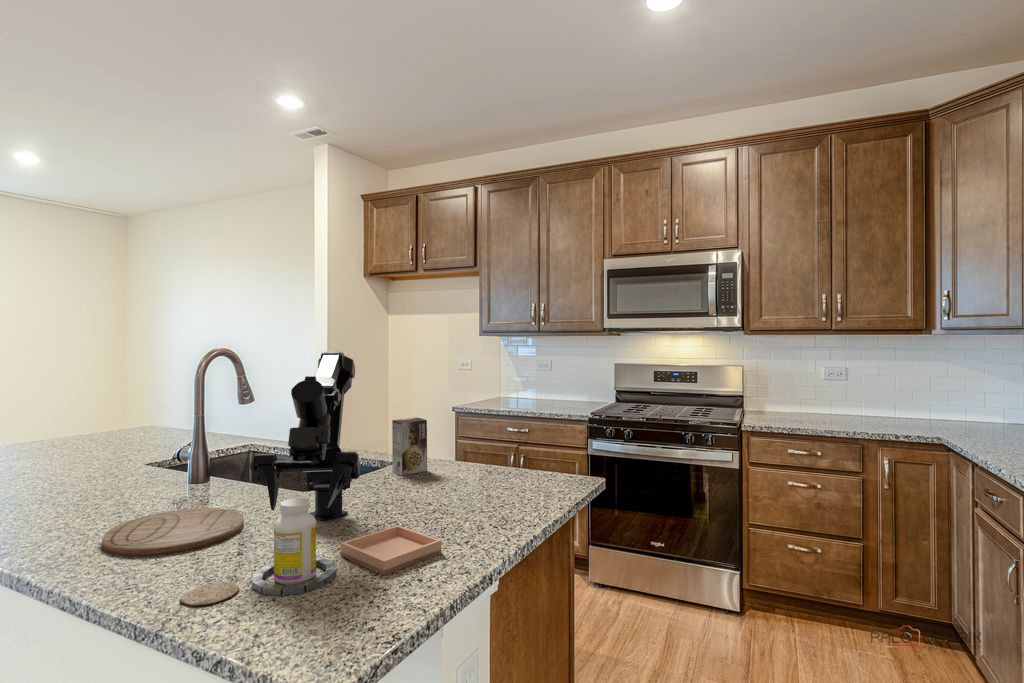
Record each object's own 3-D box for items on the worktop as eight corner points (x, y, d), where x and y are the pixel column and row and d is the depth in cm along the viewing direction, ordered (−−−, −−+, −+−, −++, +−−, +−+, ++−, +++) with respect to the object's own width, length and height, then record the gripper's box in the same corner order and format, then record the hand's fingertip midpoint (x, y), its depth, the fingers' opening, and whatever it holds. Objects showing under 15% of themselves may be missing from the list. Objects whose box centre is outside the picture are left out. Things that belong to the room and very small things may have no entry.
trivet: (248, 511, 130) (248, 503, 130) (237, 548, 107) (237, 538, 107) (123, 523, 121) (123, 514, 121) (81, 566, 98) (81, 556, 98)
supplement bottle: (303, 566, 97) (303, 494, 98) (323, 576, 93) (324, 501, 93) (266, 579, 92) (266, 502, 92) (286, 590, 88) (286, 510, 88)
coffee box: (417, 467, 175) (417, 417, 175) (427, 471, 170) (428, 419, 170) (391, 471, 169) (391, 419, 169) (401, 475, 164) (401, 422, 164)
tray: (340, 555, 102) (340, 542, 102) (397, 536, 112) (397, 525, 112) (384, 575, 94) (384, 561, 94) (441, 553, 104) (441, 540, 104)
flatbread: (226, 581, 92) (226, 575, 92) (246, 595, 87) (246, 589, 87) (172, 598, 86) (172, 592, 86) (190, 614, 81) (190, 607, 81)
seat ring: (238, 579, 92) (238, 573, 92) (310, 556, 102) (310, 551, 102) (276, 603, 84) (276, 596, 84) (350, 576, 94) (350, 570, 94)
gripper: (253, 410, 100) (232, 485, 89) (358, 408, 104) (351, 481, 93) (264, 445, 108) (247, 519, 97) (362, 443, 111) (356, 514, 100)
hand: (300, 508), depth 97 cm, fingers open, 9 cm apart
